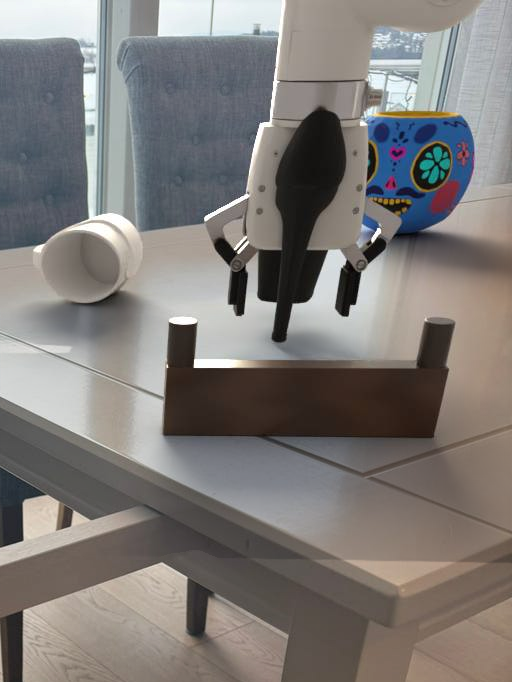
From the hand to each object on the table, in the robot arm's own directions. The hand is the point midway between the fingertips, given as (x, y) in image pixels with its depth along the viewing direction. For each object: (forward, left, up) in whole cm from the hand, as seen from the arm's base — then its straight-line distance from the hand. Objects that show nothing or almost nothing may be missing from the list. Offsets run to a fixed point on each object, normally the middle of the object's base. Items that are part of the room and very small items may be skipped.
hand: (289, 312), depth 88 cm
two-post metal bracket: (+3, +25, -2) cm, 25 cm away
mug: (+20, -18, -3) cm, 27 cm away
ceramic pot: (-24, -57, -3) cm, 62 cm away
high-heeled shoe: (0, -6, -1) cm, 6 cm away
